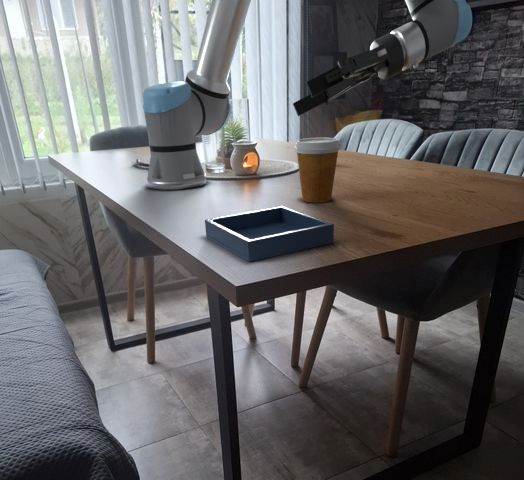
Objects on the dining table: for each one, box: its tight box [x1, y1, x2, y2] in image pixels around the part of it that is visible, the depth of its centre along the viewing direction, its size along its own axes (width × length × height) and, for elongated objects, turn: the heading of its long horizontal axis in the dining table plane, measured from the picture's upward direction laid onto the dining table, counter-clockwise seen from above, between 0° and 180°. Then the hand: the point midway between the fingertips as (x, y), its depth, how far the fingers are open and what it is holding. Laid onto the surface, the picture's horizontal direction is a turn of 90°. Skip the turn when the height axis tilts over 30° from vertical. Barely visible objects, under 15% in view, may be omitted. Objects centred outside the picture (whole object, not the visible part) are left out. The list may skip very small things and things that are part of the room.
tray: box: [204, 205, 335, 263], centre depth 80 cm, size 16×16×3 cm
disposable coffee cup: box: [294, 137, 341, 203], centre depth 103 cm, size 10×10×12 cm
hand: (301, 100), depth 97 cm, fingers open, 13 cm apart
